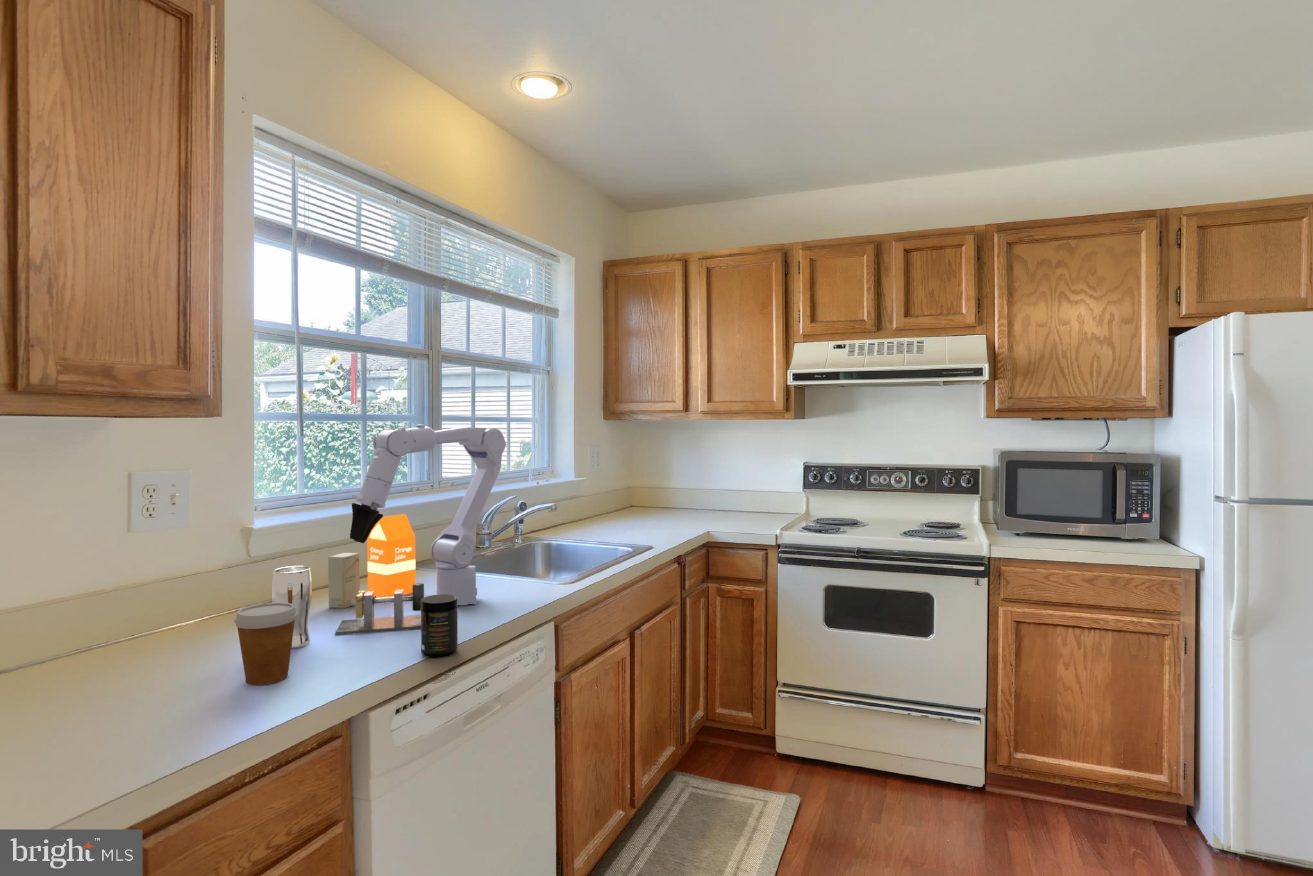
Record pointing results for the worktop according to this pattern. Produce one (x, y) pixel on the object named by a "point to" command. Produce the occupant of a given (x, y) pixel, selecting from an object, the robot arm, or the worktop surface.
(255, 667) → the disposable coffee cup
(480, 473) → the robot arm
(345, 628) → the bracket
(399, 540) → the orange juice
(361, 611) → the block
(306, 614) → the beer glass
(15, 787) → the worktop surface
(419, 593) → the shaft
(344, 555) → the skincare box
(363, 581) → the worktop surface
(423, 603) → the supplement container
